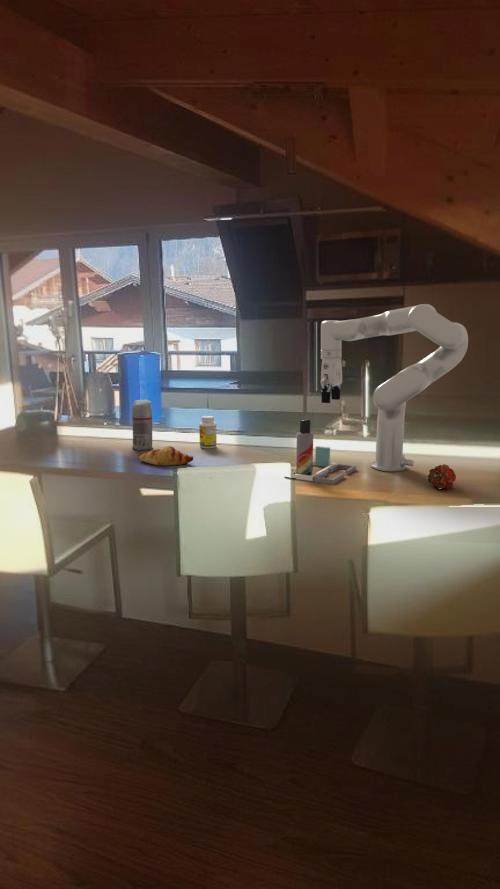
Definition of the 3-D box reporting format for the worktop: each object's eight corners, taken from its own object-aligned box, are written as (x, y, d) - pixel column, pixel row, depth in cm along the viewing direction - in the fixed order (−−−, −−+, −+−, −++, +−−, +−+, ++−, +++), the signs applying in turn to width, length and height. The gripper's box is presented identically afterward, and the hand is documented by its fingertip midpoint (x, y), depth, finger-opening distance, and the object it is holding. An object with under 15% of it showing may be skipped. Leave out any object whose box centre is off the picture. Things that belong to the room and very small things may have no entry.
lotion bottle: (307, 479, 229) (309, 421, 225) (293, 476, 232) (294, 419, 228) (315, 475, 234) (316, 418, 230) (300, 473, 237) (301, 417, 233)
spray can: (157, 447, 277) (156, 399, 273) (144, 451, 270) (142, 402, 266) (142, 445, 282) (140, 398, 277) (128, 449, 275) (126, 400, 271)
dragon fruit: (436, 497, 213) (439, 493, 224) (460, 484, 210) (462, 480, 222) (421, 474, 214) (425, 471, 226) (445, 461, 212) (448, 458, 223)
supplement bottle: (198, 445, 281) (198, 415, 279) (215, 445, 283) (215, 415, 280) (200, 449, 275) (200, 418, 272) (217, 448, 276) (217, 417, 273)
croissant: (137, 472, 251) (132, 456, 246) (145, 455, 259) (140, 439, 254) (191, 474, 247) (188, 458, 242) (198, 456, 255) (194, 440, 250)
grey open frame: (355, 469, 242) (356, 465, 241) (333, 484, 223) (333, 479, 222) (337, 467, 245) (337, 463, 245) (313, 481, 226) (313, 477, 226)
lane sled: (336, 467, 245) (337, 448, 244) (312, 481, 226) (312, 460, 225) (310, 463, 250) (310, 445, 249) (284, 477, 231) (284, 457, 230)
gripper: (331, 356, 236) (331, 404, 240) (349, 353, 251) (348, 398, 255) (312, 356, 240) (312, 403, 243) (330, 352, 255) (330, 397, 258)
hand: (330, 401), depth 249 cm, fingers open, 9 cm apart
